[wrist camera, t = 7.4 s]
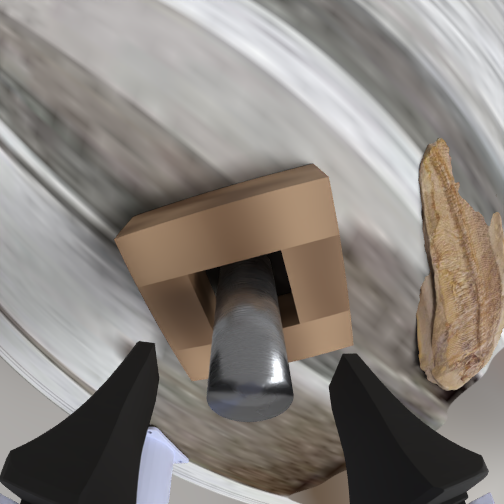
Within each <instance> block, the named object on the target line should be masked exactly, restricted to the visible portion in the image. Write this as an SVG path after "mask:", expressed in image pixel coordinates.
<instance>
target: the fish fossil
mask: <svg viewBox="0 0 504 504" xmlns="http://www.w3.org/2000/svg"><path fill="white" fill-rule="evenodd" d="M419 173H420V176H419V184H420V194H421V202H422V219H423V228H422V229H423V233H424V240H425V245H424V246H425V251H426V253H427V259H428V263H429V268H430V273H429V276H426V277H425V281H424V282H423V283H422V286H421V289H420V291H421V293H420V302H419V305H418V310H417V313H416V317H417V328H418V329H417V337H418V348H419V353H420V354H418V356H419V361H420V368H421V369H422V370H423V371H425V374H426V375H427V379H428V380H429V381H431V382H432V383H435V384H438V386H440V387H441V388H442V389H445V390H446V391H447V390H457V389H458V388H460V387H461V386H463V385H464V384H465V383H466V382H467V381H469V380H470V379H471V378H472V377H473V376H475V375H476V374H477V373H478V372H479V371H480V370H481V369H482V368H483V367H484V366H485V365H486V364H487V363H488V361H489V360H490V358H491V355H492V353H493V351H494V349H495V347H496V346H497V344H498V341H499V339H500V337H501V333H502V329H503V328H504V234H503V228H502V222H501V216H500V213H498V212H496V213H495V214H494V213H493V217H492V219H491V225H490V226H487V224H486V223H485V221H484V217H483V216H482V214H480V213H479V212H475V211H474V210H473V208H472V207H471V206H469V204H468V203H467V202H466V201H465V200H464V199H462V198H461V196H459V193H458V189H459V187H460V186H459V182H458V183H455V182H454V177H453V175H452V166H451V157H450V155H449V147H448V146H447V145H446V142H445V141H444V140H443V139H442V138H440V139H439V138H438V139H437V141H436V142H435V143H432V144H429V145H428V146H427V149H426V151H425V153H424V155H423V159H422V161H421V164H420V170H419ZM456 185H457V186H456ZM455 186H456V187H455ZM496 197H497V196H496Z"/></svg>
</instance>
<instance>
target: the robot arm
mask: <svg viewBox="0 0 504 504" xmlns="http://www.w3.org/2000/svg"><path fill="white" fill-rule="evenodd" d="M158 383H159V373H158V366H157V358H156V350H155V343H149V342H142V341H139V342H137V343H136V345H135V346H134V347H133V349H132V350H131V351H130V353H129V354H128V355H127V357H126V358H125V359H124V360H123V362H122V363H121V364H120V365H119V367H118V368H117V369H116V370H115V371H114V373H113V374H112V375H111V376H110V377H109V378H108V380H107V381H106V382H105V383H104V384H103V385H102V386H101V387H100V388H99V389H98V390H97V391H96V392H95V393H94V394H93V395H92V396H91V397H90V398H89V399H88V400H87V401H86V402H85V403H84V404H83V405H82V406H81V407H79V408H78V409H77V410H76V411H75V412H74V413H72V414H71V415H70V416H68V417H67V418H66V419H65V420H63V421H62V422H61V423H59V424H58V425H56V426H55V427H53V428H52V429H50V430H49V431H47V432H46V433H44V434H42V435H41V436H39V437H37V438H36V439H34V440H32V441H30V442H28V443H26V444H24V445H22V446H20V447H18V448H16V449H13V450H11V451H10V453H9V455H8V457H7V458H6V461H5V464H4V466H3V469H2V472H1V475H0V482H1V483H2V484H3V485H4V486H5V487H7V488H8V489H9V490H11V491H12V492H13V493H14V494H16V495H17V496H18V497H20V498H21V503H20V504H169V495H170V486H171V478H172V469H173V463H188V462H189V459H188V458H187V457H186V456H185V455H184V454H183V453H182V452H181V451H180V450H179V449H178V448H177V447H176V446H175V445H174V444H173V443H172V442H171V441H170V440H169V439H168V438H167V437H166V436H165V435H164V434H163V433H162V432H161V431H160V430H159V429H158V428H156V427H149V423H150V420H151V416H152V413H153V409H154V405H155V402H156V396H157V389H158ZM329 392H330V400H331V407H332V411H333V415H334V419H335V422H336V426H337V430H338V433H339V437H340V441H341V444H342V448H343V452H344V456H345V461H346V468H347V476H348V485H349V498H350V504H466V503H465V500H466V499H467V498H468V495H467V492H466V491H468V490H469V489H471V488H472V487H473V486H475V485H476V484H477V483H479V482H480V481H481V480H482V479H484V478H485V477H486V476H487V474H488V472H489V471H488V469H487V466H486V464H485V462H484V460H483V457H482V456H481V455H479V454H477V453H474V452H472V451H470V450H467V449H465V448H463V447H461V446H459V445H457V444H455V443H454V442H452V441H450V440H448V439H447V438H445V437H443V436H441V435H440V434H439V433H437V432H436V431H434V430H433V429H431V428H430V427H429V426H427V425H426V424H425V423H423V422H422V421H421V420H420V419H418V418H417V417H416V416H415V415H414V414H412V413H411V412H410V411H409V410H408V409H407V408H406V407H405V406H404V405H403V404H402V403H401V402H400V401H399V400H398V399H397V398H396V397H395V396H394V395H393V394H392V393H391V392H390V391H389V390H388V389H387V388H386V387H385V386H384V384H383V383H382V382H381V381H380V380H379V379H378V378H377V376H376V375H375V374H374V373H373V372H372V371H371V370H370V368H369V367H368V366H367V365H366V364H365V363H364V361H363V360H362V359H361V358H360V357H359V356H358V355H357V354H342V357H341V359H340V362H339V364H338V366H337V369H336V371H335V374H334V376H333V378H332V381H331V383H330V385H329ZM0 504H18V503H17V502H15V501H13V500H11V499H9V498H8V497H6V496H4V495H2V494H0ZM469 504H495V503H494V500H493V498H492V495H491V493H487V494H485V495H483V496H482V497H480V498H478V499H476V500H474V501H472V502H470V503H469Z"/></svg>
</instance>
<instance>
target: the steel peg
mask: <svg viewBox="0 0 504 504" xmlns="http://www.w3.org/2000/svg"><path fill="white" fill-rule="evenodd" d="M292 401H293V389H292V382H291V376H290V370H289V364H288V358H287V352H286V346H285V340H284V334H283V328H282V322H281V316H280V310H279V304H278V298H277V293H276V287H275V281H274V275H273V270H272V265H271V262H270V260H269V258H268V257H267V256H266V255H265V254H264V255H260V256H257V257H253V258H249V259H245V260H241V261H238V262H234V263H230V264H226V265H222V266H220V272H219V280H218V289H217V298H216V307H215V316H214V326H213V335H212V345H211V355H210V366H209V376H208V387H207V402H208V405H209V406H210V408H211V409H212V410H213V411H214V412H216V413H217V414H218V415H220V416H222V417H225V418H227V419H230V420H235V421H241V422H257V421H263V420H267V419H271V418H273V417H276V416H278V415H280V414H281V413H283V412H284V411H285V410H287V409H288V408H289V406H290V405H291V403H292Z"/></svg>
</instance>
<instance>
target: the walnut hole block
mask: <svg viewBox="0 0 504 504" xmlns="http://www.w3.org/2000/svg"><path fill="white" fill-rule="evenodd" d="M114 240H115V242H116V245H117V247H118V249H119V251H120V253H121V255H122V257H123V259H124V261H125V263H126V266H127V268H128V270H129V272H130V274H131V276H132V278H133V280H134V281H135V283H136V285H137V287H138V289H139V291H140V293H141V295H142V297H143V299H144V301H145V302H146V304H147V306H148V308H149V310H150V312H151V314H152V315H153V317H154V319H155V321H156V322H157V324H158V326H159V328H160V330H161V331H162V333H163V335H164V336H165V338H166V340H167V342H168V343H169V345H170V347H171V348H172V350H173V352H174V353H175V355H176V357H177V358H178V360H179V361H180V363H181V365H182V366H183V368H184V370H185V371H186V373H187V374H188V376H189V377H190V379H191V380H192V381H196V380H202V379H208V376H209V366H210V355H211V345H212V335H213V326H214V316H215V307H216V296H215V294H214V292H213V289H212V287H211V284H210V282H209V279H208V277H207V275H206V272H205V270H207V269H211V268H215V267H219V266H222V265H226V264H230V263H234V262H238V261H241V260H245V259H249V258H253V257H257V256H260V255H264V254H268V253H272V252H276V251H279V250H281V252H282V255H283V259H284V263H285V267H286V271H287V274H288V278H289V282H290V286H291V290H292V293H288V294H284V295H280V296H277V298H278V304H279V310H280V316H281V322H282V328H283V334H284V340H285V346H286V352H287V358H288V363H289V362H293V361H297V360H301V359H305V358H309V357H313V356H317V355H320V354H324V353H328V352H331V351H335V350H338V349H342V348H345V347H349V346H352V345H353V336H352V325H351V316H350V307H349V299H348V290H347V283H346V275H345V268H344V261H343V255H342V248H341V242H340V236H339V230H338V224H337V218H336V212H335V207H334V202H333V196H332V191H331V186H330V181H329V177H328V176H327V175H326V174H325V173H324V172H322V171H321V170H320V169H319V168H318V167H317V166H315V165H314V164H310V165H306V166H302V167H298V168H294V169H290V170H286V171H282V172H278V173H274V174H271V175H267V176H263V177H260V178H256V179H252V180H249V181H245V182H242V183H238V184H235V185H231V186H228V187H224V188H221V189H217V190H214V191H211V192H207V193H204V194H201V195H198V196H194V197H191V198H188V199H185V200H182V201H179V202H175V203H172V204H169V205H166V206H163V207H160V208H157V209H154V210H151V211H148V212H145V213H142V214H139V215H137V216H134V217H132V219H131V220H130V221H129V222H128V223H127V224H126V226H125V227H124V228H123V229H122V230H121V231H120V233H119V234H118V235H117V236H116V237H115V239H114Z"/></svg>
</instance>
